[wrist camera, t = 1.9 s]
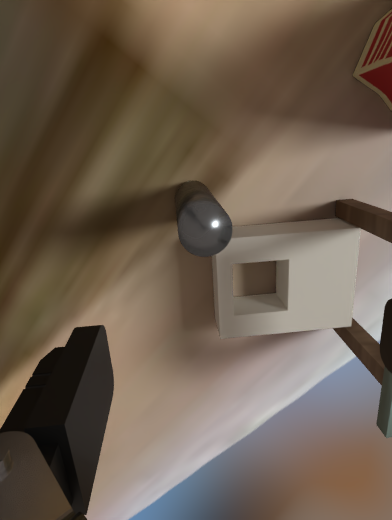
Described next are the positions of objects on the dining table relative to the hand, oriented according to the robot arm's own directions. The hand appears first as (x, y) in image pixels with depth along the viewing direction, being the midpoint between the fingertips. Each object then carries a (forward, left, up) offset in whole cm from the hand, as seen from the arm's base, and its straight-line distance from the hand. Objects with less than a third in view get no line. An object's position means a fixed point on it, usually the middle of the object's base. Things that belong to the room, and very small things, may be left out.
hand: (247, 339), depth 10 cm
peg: (0, 0, -24) cm, 24 cm away
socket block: (+8, -8, -24) cm, 27 cm away
